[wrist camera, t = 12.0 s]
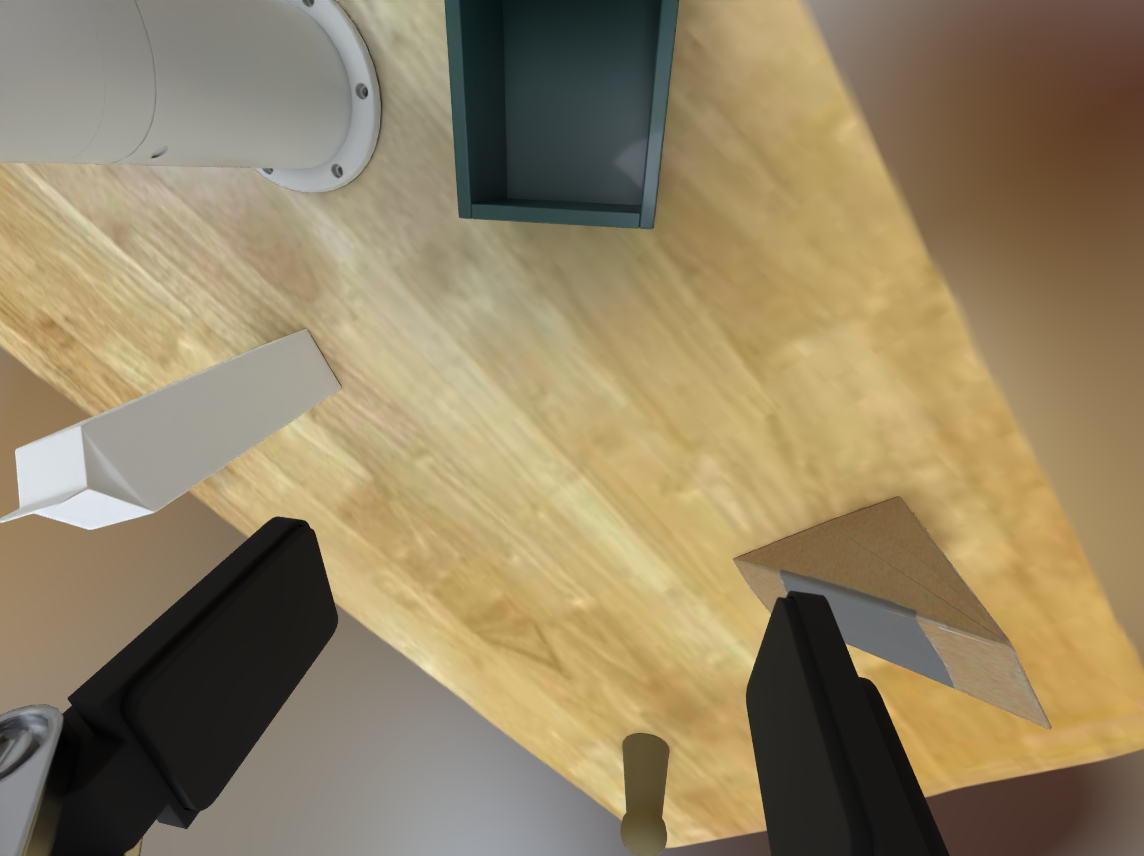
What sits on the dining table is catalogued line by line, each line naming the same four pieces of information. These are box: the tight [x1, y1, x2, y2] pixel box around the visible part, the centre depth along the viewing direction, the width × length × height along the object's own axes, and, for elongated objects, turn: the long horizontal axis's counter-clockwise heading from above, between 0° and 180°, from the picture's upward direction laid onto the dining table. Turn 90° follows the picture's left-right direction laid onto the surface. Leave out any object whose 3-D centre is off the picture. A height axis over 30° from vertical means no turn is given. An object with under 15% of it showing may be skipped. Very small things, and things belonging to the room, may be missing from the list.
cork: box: [621, 734, 669, 856], centre depth 58 cm, size 6×6×11 cm
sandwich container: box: [733, 497, 1052, 730], centre depth 38 cm, size 9×15×15 cm, turn 126°
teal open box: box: [445, 0, 679, 229], centre depth 27 cm, size 14×11×8 cm
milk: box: [0, 329, 341, 530], centre depth 34 cm, size 6×6×22 cm
